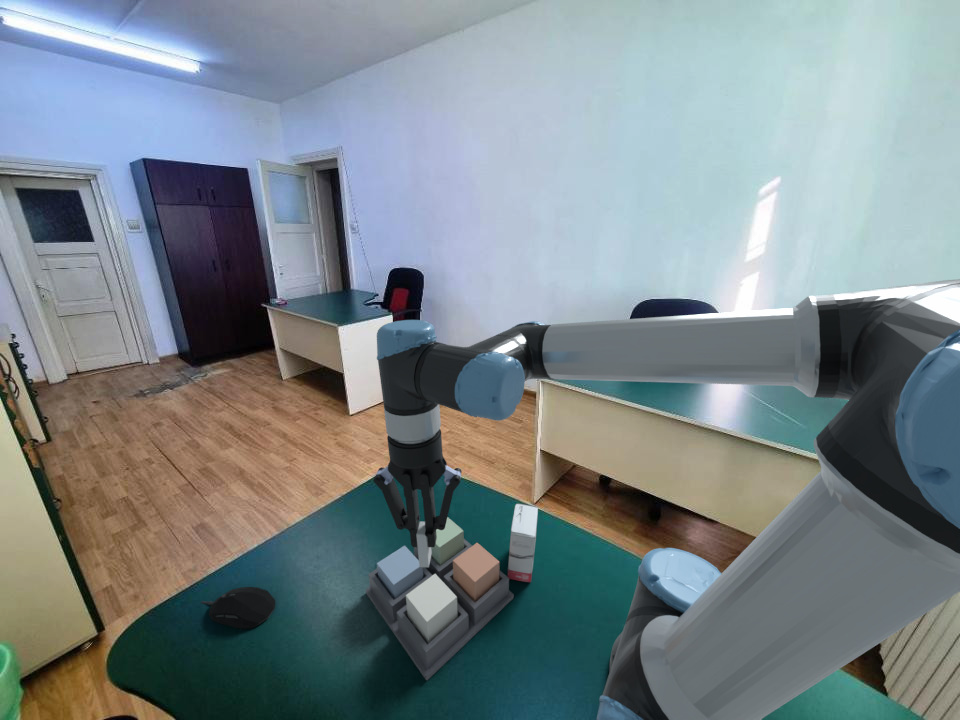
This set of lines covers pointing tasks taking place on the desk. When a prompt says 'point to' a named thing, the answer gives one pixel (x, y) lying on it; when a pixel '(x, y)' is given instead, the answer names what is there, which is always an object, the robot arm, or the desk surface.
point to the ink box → (522, 542)
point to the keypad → (456, 633)
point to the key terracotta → (476, 571)
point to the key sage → (447, 542)
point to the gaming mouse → (242, 607)
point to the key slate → (399, 572)
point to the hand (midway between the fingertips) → (425, 560)
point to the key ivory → (431, 607)
